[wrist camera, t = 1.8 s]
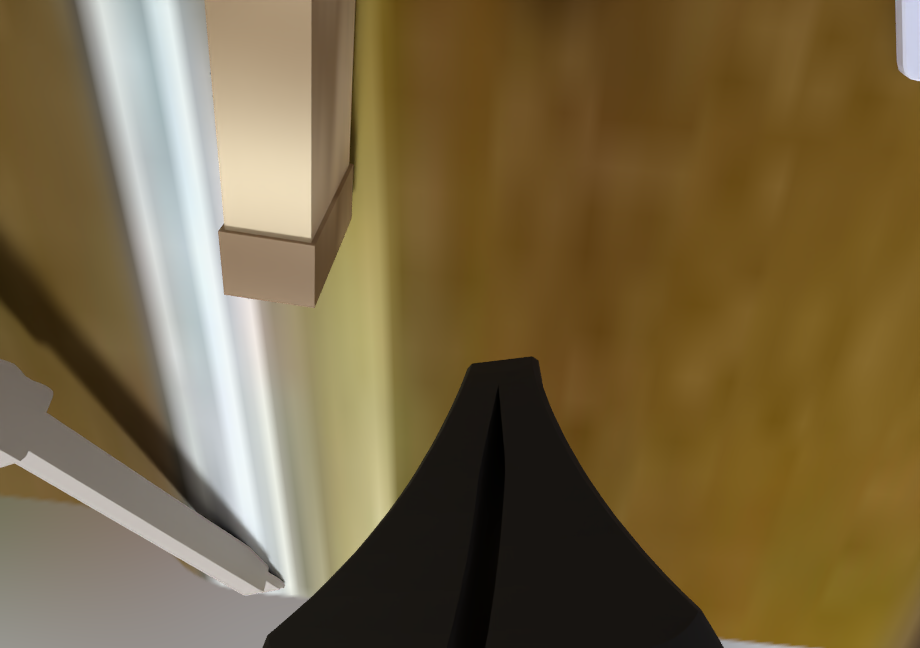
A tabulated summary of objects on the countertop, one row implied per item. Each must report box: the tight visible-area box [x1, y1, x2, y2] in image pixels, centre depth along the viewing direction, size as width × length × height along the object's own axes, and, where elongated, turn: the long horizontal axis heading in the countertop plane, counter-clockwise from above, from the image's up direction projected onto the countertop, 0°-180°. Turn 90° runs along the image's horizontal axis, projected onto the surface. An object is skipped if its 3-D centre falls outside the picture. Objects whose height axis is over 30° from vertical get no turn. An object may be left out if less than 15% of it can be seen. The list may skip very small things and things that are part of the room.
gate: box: [205, 0, 355, 308], centre depth 13 cm, size 11×2×4 cm, turn 172°
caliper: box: [0, 359, 285, 596], centre depth 23 cm, size 20×1×6 cm, turn 23°
